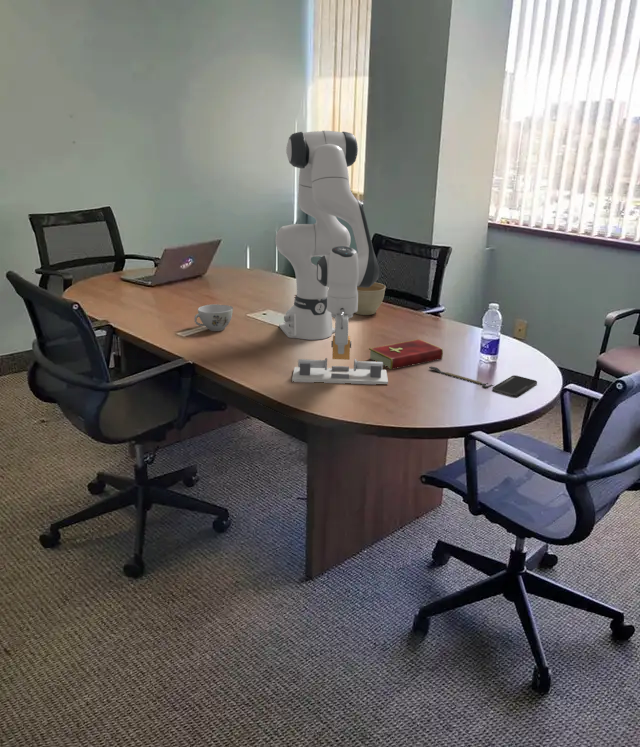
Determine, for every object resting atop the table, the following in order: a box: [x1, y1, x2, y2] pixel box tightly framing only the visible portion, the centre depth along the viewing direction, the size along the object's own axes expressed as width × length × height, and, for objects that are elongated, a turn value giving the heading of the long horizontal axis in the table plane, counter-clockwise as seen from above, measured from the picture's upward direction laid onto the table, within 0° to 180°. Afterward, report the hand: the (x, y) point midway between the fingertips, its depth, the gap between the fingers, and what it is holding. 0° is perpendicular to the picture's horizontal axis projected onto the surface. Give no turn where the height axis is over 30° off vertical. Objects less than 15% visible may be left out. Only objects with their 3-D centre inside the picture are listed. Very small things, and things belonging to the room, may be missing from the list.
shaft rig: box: [291, 357, 389, 385], centre depth 198 cm, size 28×10×6 cm, turn 88°
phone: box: [492, 374, 538, 398], centre depth 194 cm, size 8×1×15 cm
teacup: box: [194, 303, 234, 332], centre depth 241 cm, size 15×12×8 cm
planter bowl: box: [354, 282, 386, 316], centre depth 267 cm, size 16×16×11 cm
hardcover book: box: [368, 338, 444, 370], centre depth 216 cm, size 12×21×4 cm, turn 122°
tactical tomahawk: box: [428, 366, 494, 389], centre depth 202 cm, size 21×7×1 cm, turn 46°
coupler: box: [331, 335, 352, 360], centre depth 196 cm, size 6×4×6 cm
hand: (341, 350), depth 196 cm, fingers closed on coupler, 4 cm apart
